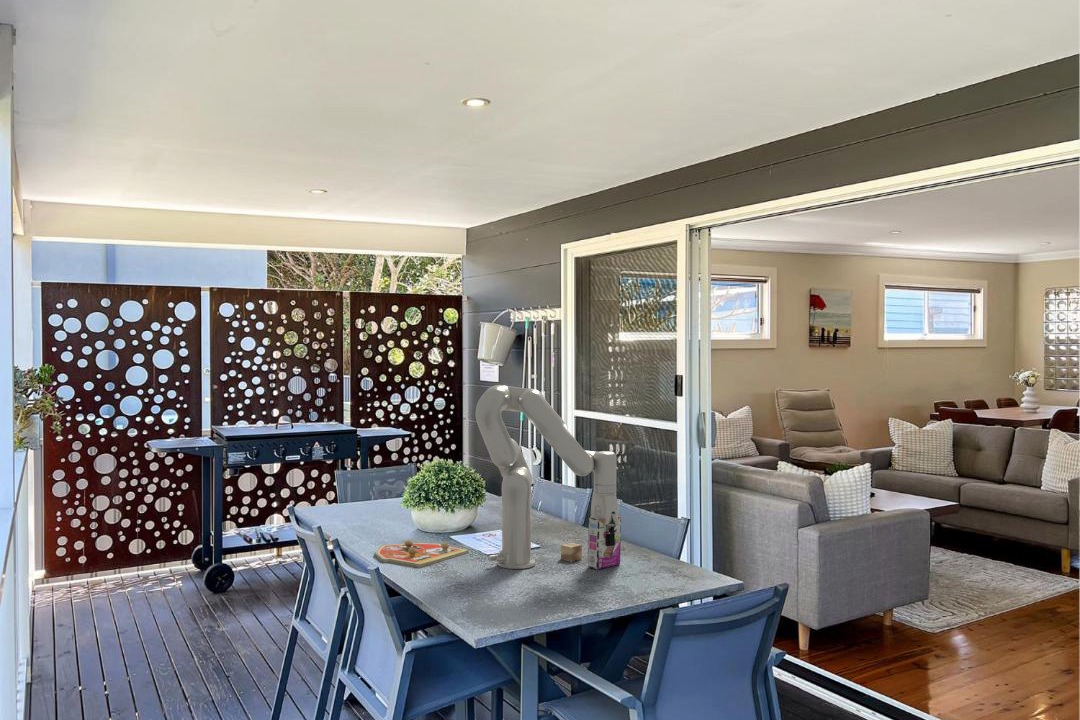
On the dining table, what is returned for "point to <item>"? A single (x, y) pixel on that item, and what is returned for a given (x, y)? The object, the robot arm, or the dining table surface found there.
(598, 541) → the candy bar box
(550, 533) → the dining table surface
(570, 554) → the oak block
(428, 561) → the knob puzzle
